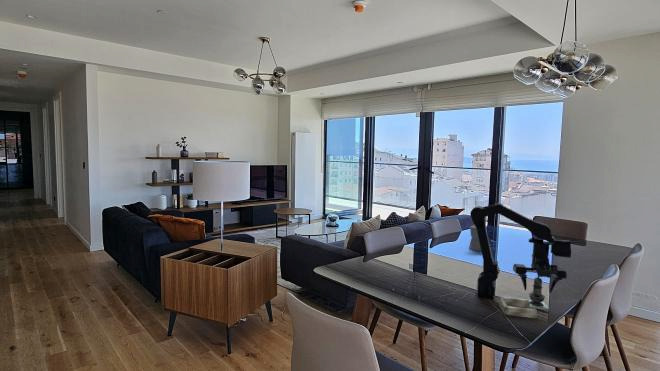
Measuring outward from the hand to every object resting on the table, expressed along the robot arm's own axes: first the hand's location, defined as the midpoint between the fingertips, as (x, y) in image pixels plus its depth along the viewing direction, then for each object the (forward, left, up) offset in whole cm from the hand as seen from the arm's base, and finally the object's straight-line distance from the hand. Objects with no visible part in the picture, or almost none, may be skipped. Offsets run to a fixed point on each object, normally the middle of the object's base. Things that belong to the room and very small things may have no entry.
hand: (537, 291), depth 154 cm
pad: (0, 0, -6) cm, 6 cm away
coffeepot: (-10, +93, -6) cm, 94 cm away
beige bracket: (-9, -9, -6) cm, 14 cm away
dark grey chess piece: (0, 0, -6) cm, 6 cm away
